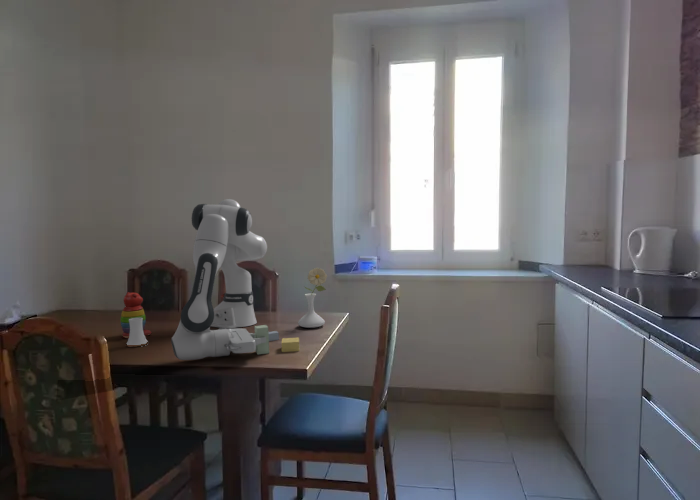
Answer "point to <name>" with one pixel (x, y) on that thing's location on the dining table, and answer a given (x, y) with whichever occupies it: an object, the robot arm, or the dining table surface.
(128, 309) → the stacking bear
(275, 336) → the slate brick
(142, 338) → the vase
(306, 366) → the dining table surface
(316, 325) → the flower in vase
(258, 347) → the green brick
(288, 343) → the mustard brick
